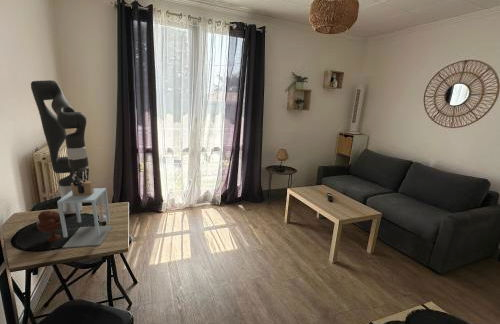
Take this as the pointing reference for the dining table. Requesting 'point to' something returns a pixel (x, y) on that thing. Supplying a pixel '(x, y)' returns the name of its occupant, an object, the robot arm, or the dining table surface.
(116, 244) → the dining table surface
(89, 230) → the mat
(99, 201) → the chalice
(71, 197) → the cover
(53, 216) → the ice cream bowl
